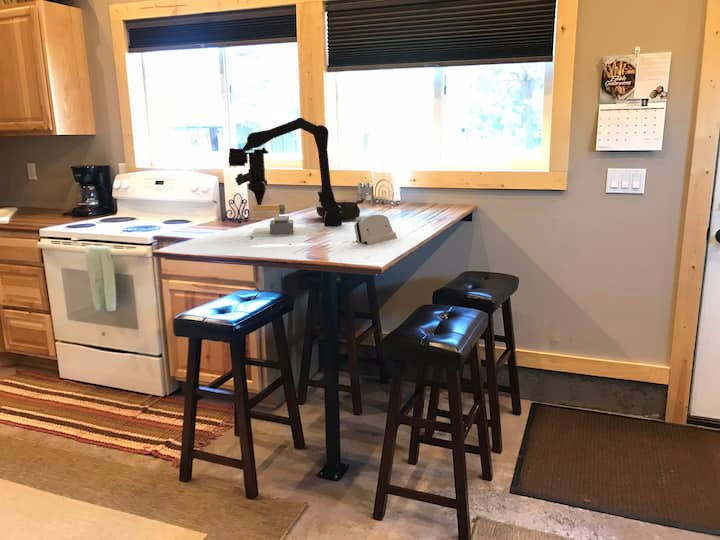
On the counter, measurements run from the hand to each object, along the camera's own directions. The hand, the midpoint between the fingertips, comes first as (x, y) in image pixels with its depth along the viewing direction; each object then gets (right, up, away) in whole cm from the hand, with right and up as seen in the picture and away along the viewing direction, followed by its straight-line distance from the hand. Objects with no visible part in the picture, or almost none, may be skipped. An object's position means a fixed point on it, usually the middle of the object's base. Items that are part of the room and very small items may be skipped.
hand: (259, 206), depth 234 cm
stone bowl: (+30, -3, +27) cm, 40 cm away
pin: (+10, -11, -11) cm, 19 cm away
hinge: (+45, -15, -24) cm, 53 cm away
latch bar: (+5, -2, -5) cm, 7 cm away
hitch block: (+11, -12, -9) cm, 18 cm away
